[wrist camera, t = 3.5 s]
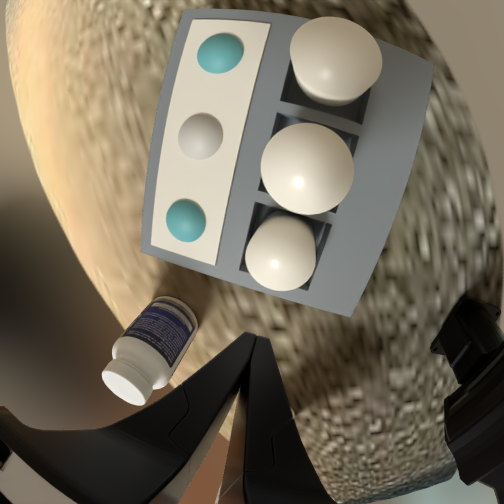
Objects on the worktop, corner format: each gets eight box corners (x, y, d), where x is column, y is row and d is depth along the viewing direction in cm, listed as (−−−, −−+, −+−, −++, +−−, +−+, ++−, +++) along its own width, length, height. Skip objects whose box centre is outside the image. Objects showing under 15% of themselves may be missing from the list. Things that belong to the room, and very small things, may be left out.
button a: (371, 56, 11) (388, 33, 7) (357, 115, 13) (373, 107, 9) (302, 36, 11) (299, 8, 8) (287, 95, 13) (280, 80, 10)
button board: (417, 73, 13) (436, 63, 10) (346, 295, 20) (350, 320, 17) (201, 23, 14) (182, 7, 11) (159, 238, 22) (138, 253, 19)
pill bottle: (148, 287, 24) (86, 352, 16) (199, 302, 24) (148, 381, 15) (152, 329, 27) (103, 394, 18) (198, 344, 26) (158, 419, 17)
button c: (322, 219, 18) (325, 238, 14) (304, 270, 19) (302, 298, 16) (265, 202, 18) (254, 217, 15) (252, 254, 20) (238, 279, 16)
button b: (351, 140, 13) (364, 139, 10) (331, 206, 15) (338, 225, 12) (281, 119, 14) (272, 112, 10) (265, 186, 15) (251, 200, 12)
